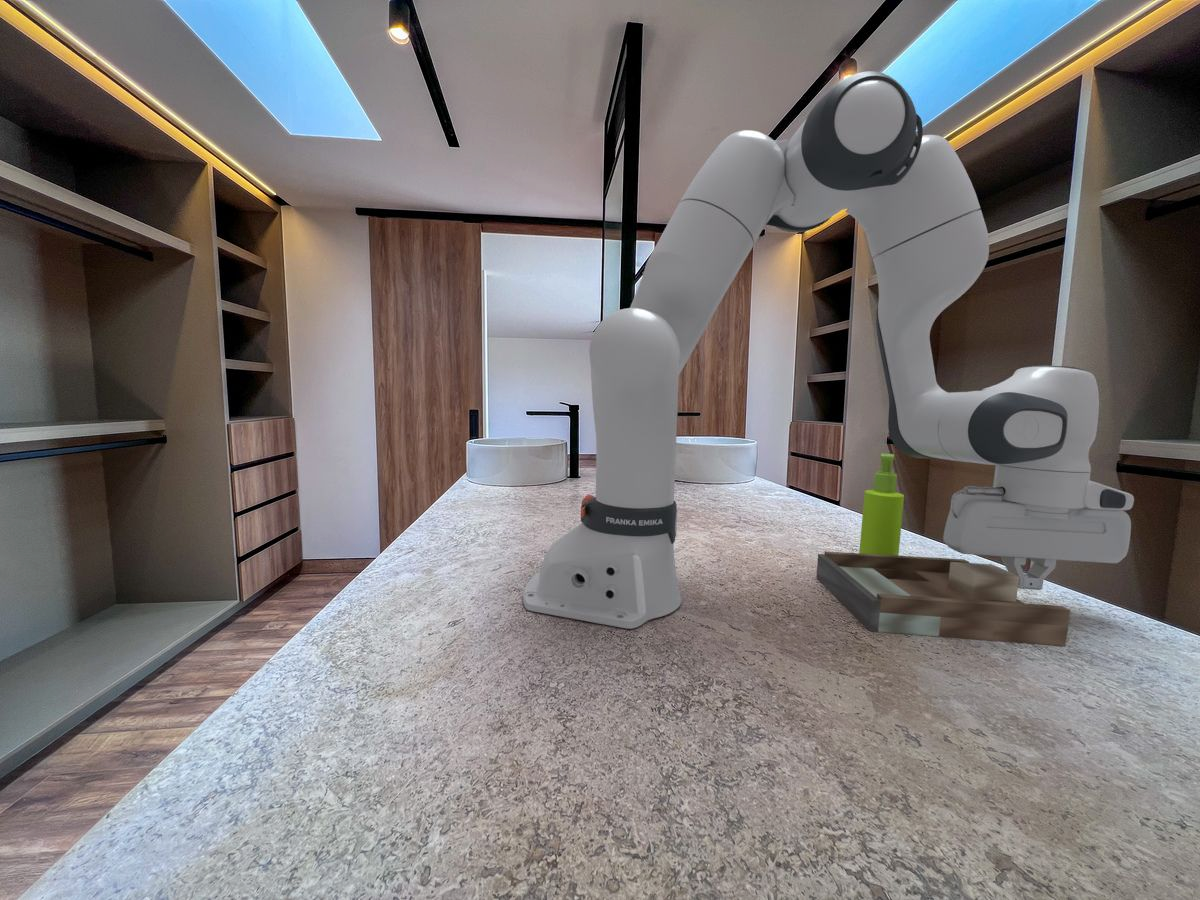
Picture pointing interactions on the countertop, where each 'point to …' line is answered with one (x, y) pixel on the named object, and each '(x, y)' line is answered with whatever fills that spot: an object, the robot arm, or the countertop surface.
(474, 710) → the countertop surface
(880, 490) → the soap dispenser
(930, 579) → the board
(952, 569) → the maple block
